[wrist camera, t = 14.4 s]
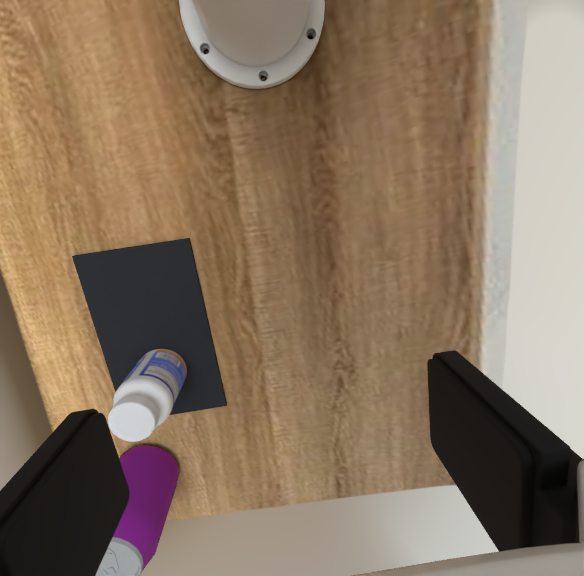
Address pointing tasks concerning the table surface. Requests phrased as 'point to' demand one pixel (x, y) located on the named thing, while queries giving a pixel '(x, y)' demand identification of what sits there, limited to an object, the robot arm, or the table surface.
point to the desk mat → (153, 315)
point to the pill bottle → (147, 395)
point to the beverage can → (141, 510)
